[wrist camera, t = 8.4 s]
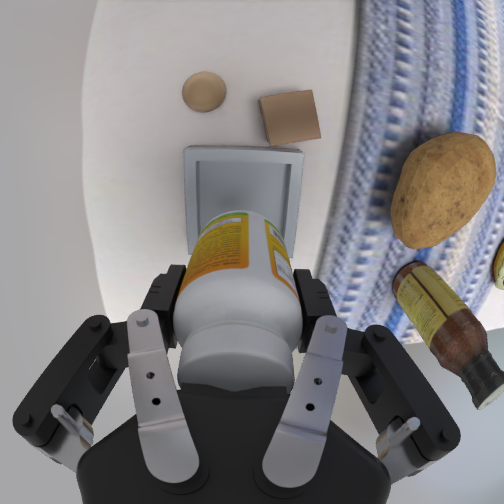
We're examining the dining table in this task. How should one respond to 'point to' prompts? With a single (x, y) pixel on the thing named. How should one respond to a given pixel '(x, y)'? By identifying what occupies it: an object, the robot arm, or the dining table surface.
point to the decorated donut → (499, 268)
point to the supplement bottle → (238, 306)
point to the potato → (441, 188)
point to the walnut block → (290, 117)
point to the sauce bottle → (449, 331)
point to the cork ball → (204, 91)
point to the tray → (242, 186)
